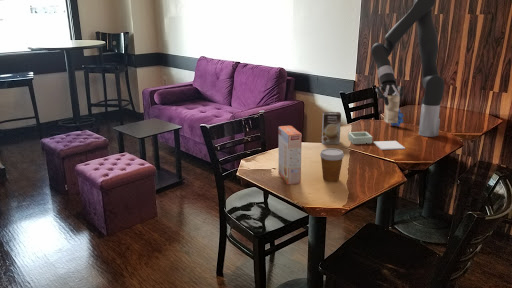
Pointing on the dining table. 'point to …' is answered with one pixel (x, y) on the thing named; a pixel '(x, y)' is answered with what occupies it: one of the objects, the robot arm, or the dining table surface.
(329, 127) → the coffee box
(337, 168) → the disposable coffee cup
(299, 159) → the cracker box
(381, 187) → the dining table surface
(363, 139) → the sage holder
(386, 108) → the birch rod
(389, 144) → the grey mat
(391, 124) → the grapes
